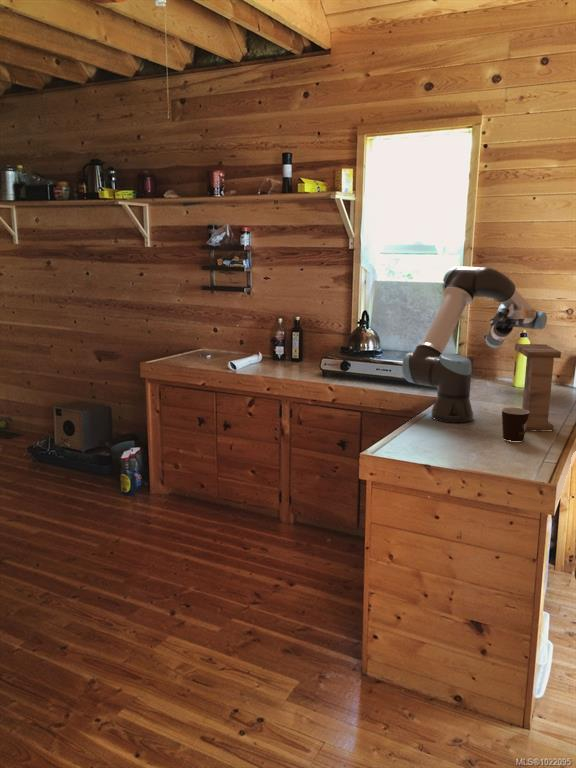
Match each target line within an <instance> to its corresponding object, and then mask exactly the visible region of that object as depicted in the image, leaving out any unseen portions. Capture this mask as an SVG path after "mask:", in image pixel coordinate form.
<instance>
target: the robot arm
mask: <svg viewBox="0 0 576 768" xmlns="http://www.w3.org/2000/svg"><path fill="white" fill-rule="evenodd" d="M442 290H443V294H444V299H443V301H442V303H441V305H440V306H439V309H438V311H437V313H436V316H435V318H433V319H434V320H433V322H432V323H431V326H430V328H429V330H428V331H427V333H426V336H425V338H424V340H423V342H422V343H421V344H418V345H417V346H416V347H415V350H414V351H410V352H407V353H406V354H405V355H404V357H403V360H402V364H401V366H402V367H401V368H402V375H403V377H404V378H405V380H406V381H407V382H408V383H411V384H415V385H420V386H427V387H432V388H437V392H436V393H437V394H436V395H437V396H436V399H435V401H434V405H433V407H432V409H431V415H430V416H432V417H433V418H435V419H437V420H436V421H438V420H442V421H447V422H446V423H449V422H465V423H468V421H470V422H471V420H472V421H473V420H474V411H473V408H472V403H471V400H470V396H471V395H470V393H471V383H472V373H473V371H472V362H471V360H470V359H469V358H468V357H466V356H463V355H461V354H456V353H446V352H445V350H446V347H447V345H448V344H449V342H450V339H451V337H452V335H453V333H454V330H455V329H456V327H457V324H458V322H459V321H460V318H461V316H462V314H463V311H464V310H465V308H466V306H469V305H471V304H472V302H473V300H474V298H476V297H477V298H488V299H493V300H494V301H496V302H497V303H501V304H500V305H499V307H498V308H497V311H496V312H495V316H494V317H493V318H491V319H490V321H489V322H490V323H489V324H490V328H489V330H488V333H486V336H485V338H484V339H485V343H486V345H487V346H488V347H490V348H493V349H496V348H499V347H500V346H502V345H503V343H504V341H505V340H506V339H507V338H508V336H509V335H510V334H511V333H512V331H513V329H514V328H519V329H520V328H522V329H529V330H543V329H544V328H546V325H547V322H548V315H547V314H546V312H544V311H541V310H540V311H537V310H535V318H528V319H507V317H509V316H510V315H511V314H512V312H513V311H518V310H523V309H534V307H533V306H532V305H531V304H530V303H529V302H528V301H527V300H526V299H525V297H523V295H522V294H521V293H520V292H519V291H518V290H517V289H516V285H515V283H514V281H512V279H510V278H509V277H508V276H507V275H506V274H504V273H503V272H501V271H499V270H497V269H495V268H493V267H486V266H466V265H459V266H458V265H457V266H453V267H451V268H449V269H448V270H447V271H446V273H445V275H444V277H443V283H442ZM444 352H445V353H444ZM432 417H431V418H432ZM433 418H432V419H433ZM435 419H434V420H435ZM442 421H441V422H442Z"/></svg>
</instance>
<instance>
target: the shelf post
mask: <svg viewBox="0 0 576 768" xmlns="http://www.w3.org/2000/svg"><path fill="white" fill-rule="evenodd" d="M514 350H515V351H516V352H518V353H520V354H521V355H523V356H524V357H526V363H525V364H526V365H525V373H524V386H523V395H522V396H523V397H522V406H521V409H525V410H528V411H529V416H528V421H527V426H526V430H552V431H551V432H554V429H555V426H554V424H552V423H551V422H550V421H549V415H550V403H551V392H552V385H553V384H552V383H553V372H554V371H553V370H554V362H555V361H554V360H555V359H561V355H562V352H561V351H560V350H557V349H556V348H554V347H552V346H550V345H548V344H545V343H543V344H542V343H541V344H537V343H535V344H533V343H530V344H528V343H523V344H522V343H515V344H514Z"/></svg>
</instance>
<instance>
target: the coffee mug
mask: <svg viewBox="0 0 576 768" xmlns="http://www.w3.org/2000/svg"><path fill="white" fill-rule="evenodd" d="M528 416H529V411H528V410H525V409H522V407H504V408H501V417H502V418H501V421H502V423H501V424H502V439H503V438H504V439H506V440H511V441H522V440H523V439H524V438H525V435H526V431H525V430H526V426H527V421H528ZM524 440H525V439H524ZM524 440H523V441H524Z"/></svg>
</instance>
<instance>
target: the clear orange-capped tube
mask: <svg viewBox="0 0 576 768" xmlns="http://www.w3.org/2000/svg"><path fill="white" fill-rule="evenodd" d="M535 311H536V309H523V310H518V311H513V312H512V314H511V315H510V316H509V317H507V319H528V318H535Z"/></svg>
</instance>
